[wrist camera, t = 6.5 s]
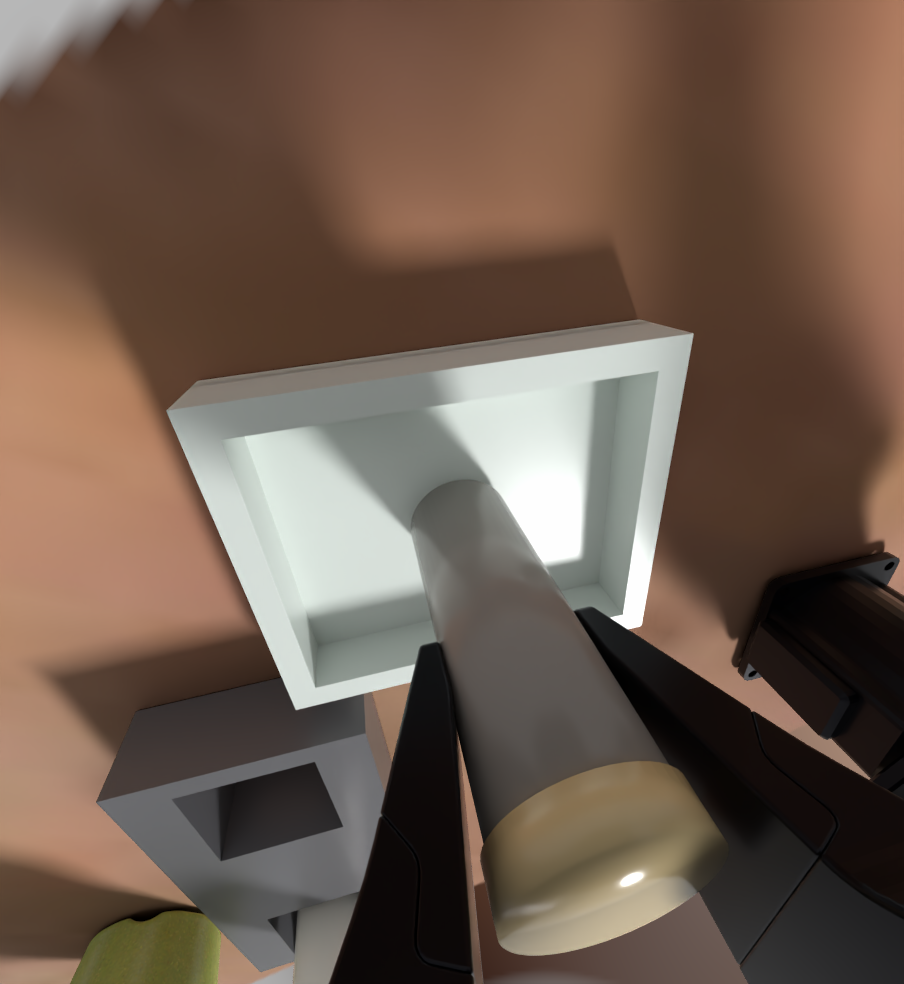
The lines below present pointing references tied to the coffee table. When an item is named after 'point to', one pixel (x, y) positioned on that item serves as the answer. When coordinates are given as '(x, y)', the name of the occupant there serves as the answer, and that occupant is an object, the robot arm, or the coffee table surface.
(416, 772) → the robot arm
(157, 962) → the plant pot
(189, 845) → the fuse holder
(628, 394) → the parts tray
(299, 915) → the cylinder
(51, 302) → the coffee table surface
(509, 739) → the cream capped cylinder
